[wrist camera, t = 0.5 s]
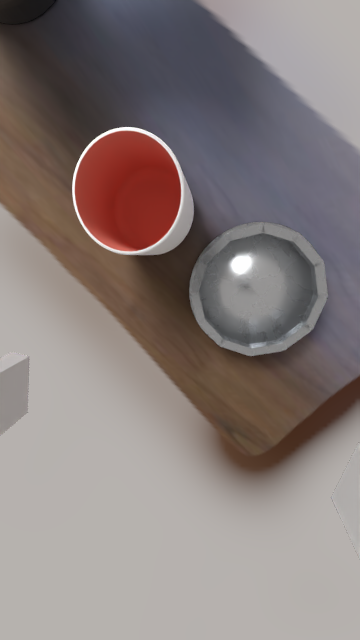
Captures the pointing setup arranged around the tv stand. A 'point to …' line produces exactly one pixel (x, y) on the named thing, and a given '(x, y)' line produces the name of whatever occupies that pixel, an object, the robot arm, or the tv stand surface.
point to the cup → (132, 193)
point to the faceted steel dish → (258, 288)
